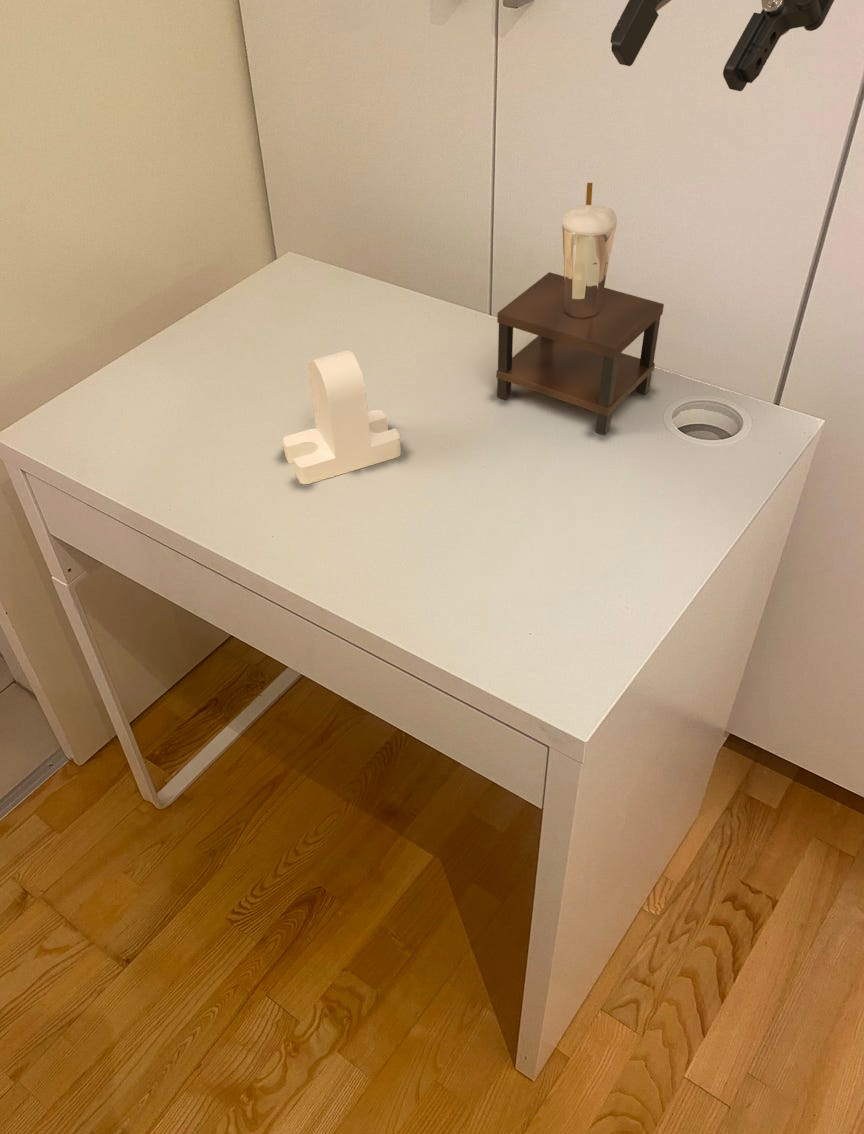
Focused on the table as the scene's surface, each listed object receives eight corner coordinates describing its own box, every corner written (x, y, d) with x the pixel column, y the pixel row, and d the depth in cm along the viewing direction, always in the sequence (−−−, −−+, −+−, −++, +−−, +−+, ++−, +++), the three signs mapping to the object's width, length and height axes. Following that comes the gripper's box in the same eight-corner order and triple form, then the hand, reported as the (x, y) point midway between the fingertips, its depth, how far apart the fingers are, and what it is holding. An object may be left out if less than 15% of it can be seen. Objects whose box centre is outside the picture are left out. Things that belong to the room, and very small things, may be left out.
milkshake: (605, 292, 91) (617, 181, 84) (608, 322, 88) (621, 209, 80) (555, 292, 92) (563, 183, 84) (556, 322, 88) (564, 210, 81)
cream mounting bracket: (403, 455, 91) (397, 358, 84) (301, 485, 89) (286, 389, 82) (381, 426, 94) (374, 330, 87) (283, 454, 92) (267, 359, 85)
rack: (651, 390, 96) (664, 303, 89) (604, 436, 91) (615, 349, 84) (544, 355, 101) (549, 271, 95) (495, 397, 97) (497, 312, 90)
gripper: (695, -242, 61) (563, 17, 64) (919, -239, 53) (756, 55, 57) (728, -149, 67) (606, 83, 70) (934, -134, 60) (786, 126, 63)
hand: (673, 70), depth 63 cm, fingers open, 8 cm apart
